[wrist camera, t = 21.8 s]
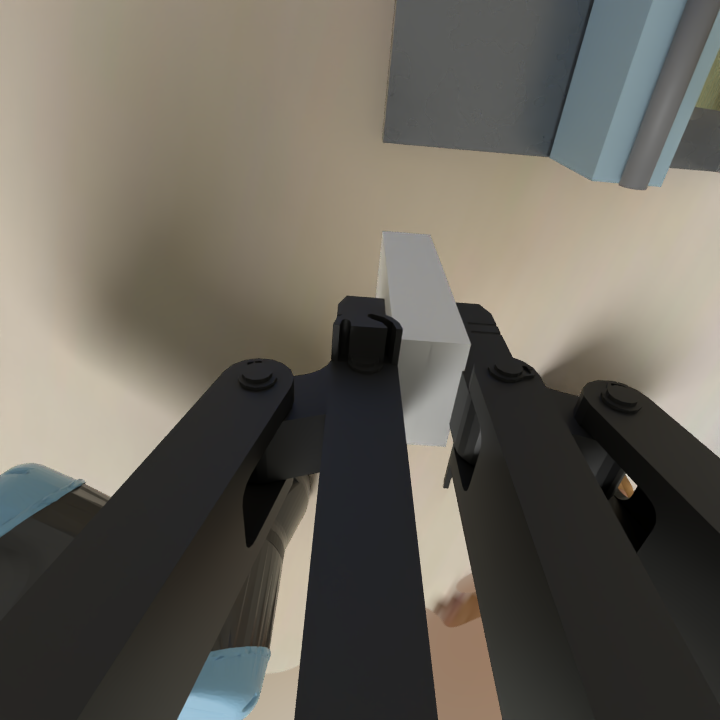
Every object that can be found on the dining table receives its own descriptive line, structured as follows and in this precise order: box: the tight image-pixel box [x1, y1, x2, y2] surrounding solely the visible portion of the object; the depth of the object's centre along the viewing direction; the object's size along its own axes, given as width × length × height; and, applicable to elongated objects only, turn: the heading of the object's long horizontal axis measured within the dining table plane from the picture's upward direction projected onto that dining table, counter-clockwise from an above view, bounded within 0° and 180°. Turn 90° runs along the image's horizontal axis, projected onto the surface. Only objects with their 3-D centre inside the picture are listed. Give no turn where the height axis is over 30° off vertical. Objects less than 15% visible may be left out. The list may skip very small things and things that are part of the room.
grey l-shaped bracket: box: [382, 0, 720, 173], centre depth 26 cm, size 26×12×9 cm, turn 85°
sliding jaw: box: [550, 0, 720, 190], centre depth 25 cm, size 4×12×8 cm, turn 175°
